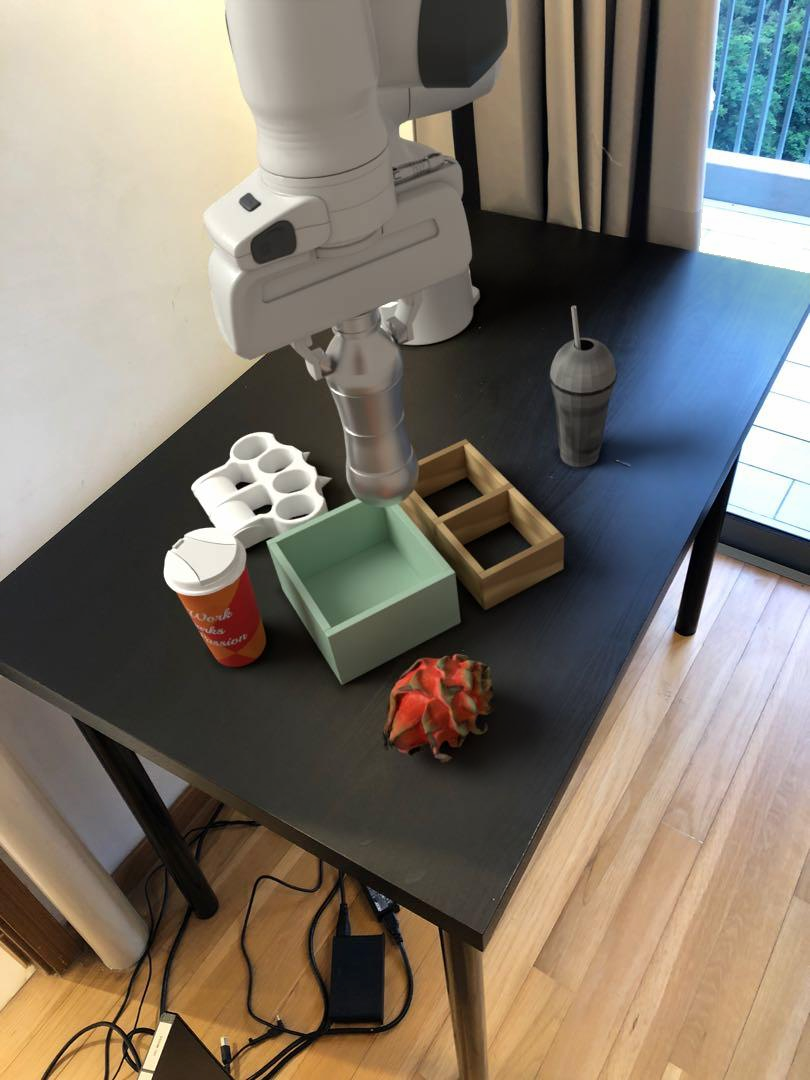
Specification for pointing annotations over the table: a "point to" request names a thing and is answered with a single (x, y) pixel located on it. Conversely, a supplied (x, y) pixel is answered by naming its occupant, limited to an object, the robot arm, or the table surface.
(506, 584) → the rack
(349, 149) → the robot arm
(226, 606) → the paper cup
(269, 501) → the knuckle duster
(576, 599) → the table surface
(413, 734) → the dragon fruit
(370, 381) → the silver metal bottle
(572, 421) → the beverage cup
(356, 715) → the table surface
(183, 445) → the table surface
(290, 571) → the open storage box
